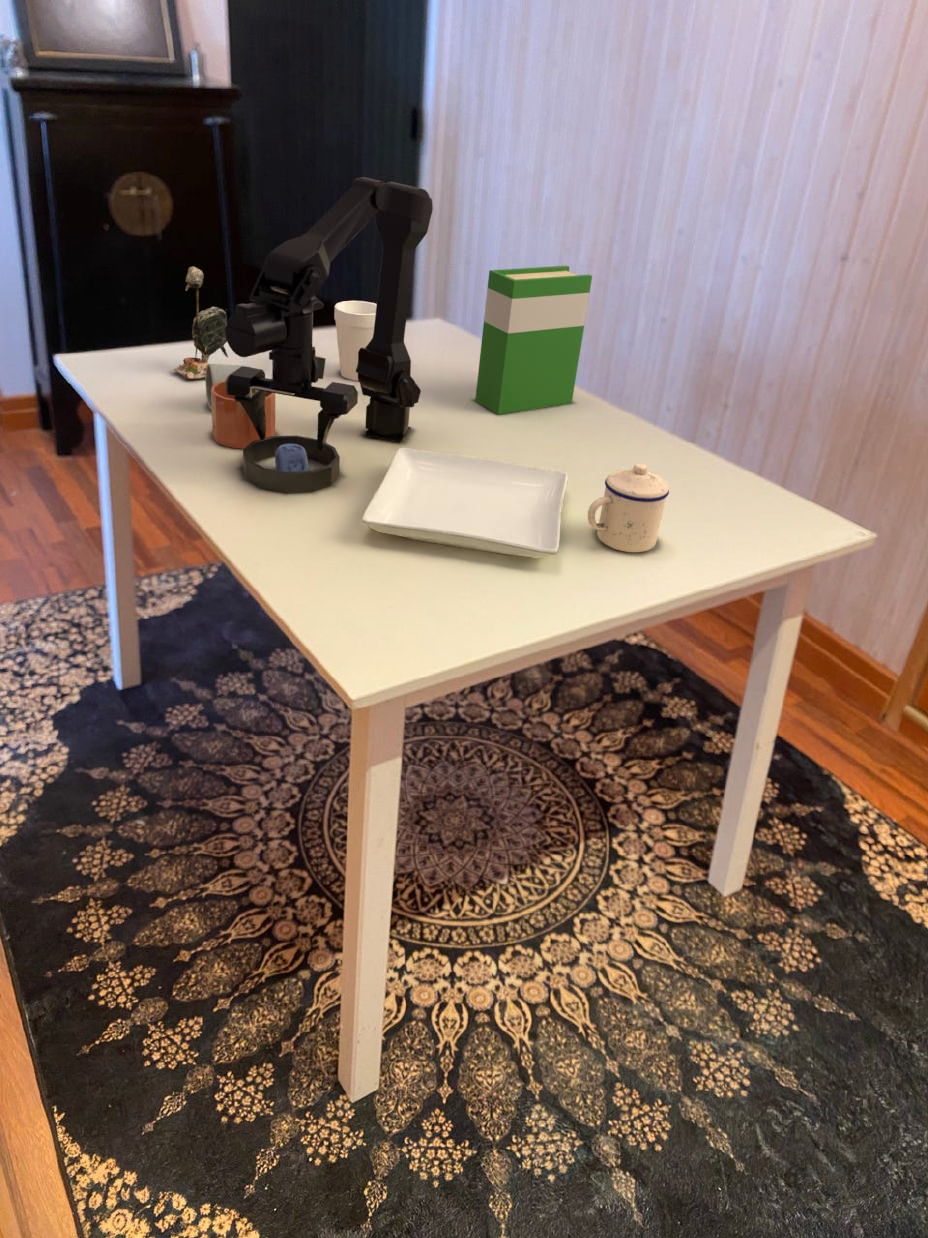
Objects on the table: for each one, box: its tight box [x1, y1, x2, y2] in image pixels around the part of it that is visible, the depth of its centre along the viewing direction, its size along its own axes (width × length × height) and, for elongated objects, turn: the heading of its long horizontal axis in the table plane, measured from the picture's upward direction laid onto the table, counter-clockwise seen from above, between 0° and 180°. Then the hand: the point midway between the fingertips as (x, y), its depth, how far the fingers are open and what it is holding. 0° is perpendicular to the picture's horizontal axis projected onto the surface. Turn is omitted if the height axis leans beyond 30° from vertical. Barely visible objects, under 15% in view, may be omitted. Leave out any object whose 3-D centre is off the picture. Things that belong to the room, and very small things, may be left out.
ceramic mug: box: [205, 363, 253, 411], centre depth 175 cm, size 11×8×8 cm
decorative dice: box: [274, 444, 309, 472], centre depth 154 cm, size 4×4×4 cm
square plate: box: [361, 447, 569, 559], centre depth 148 cm, size 27×27×4 cm
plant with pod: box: [172, 266, 229, 380], centre depth 184 cm, size 8×11×20 cm
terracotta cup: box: [211, 380, 276, 450], centre depth 163 cm, size 10×10×8 cm
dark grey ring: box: [242, 434, 341, 494], centre depth 155 cm, size 14×14×3 cm
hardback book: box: [474, 265, 593, 415], centre depth 186 cm, size 18×7×24 cm, turn 124°
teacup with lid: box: [587, 463, 670, 553], centre depth 144 cm, size 12×9×12 cm
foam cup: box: [333, 300, 377, 381], centre depth 193 cm, size 10×9×13 cm
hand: (291, 444), depth 153 cm, fingers open, 9 cm apart
